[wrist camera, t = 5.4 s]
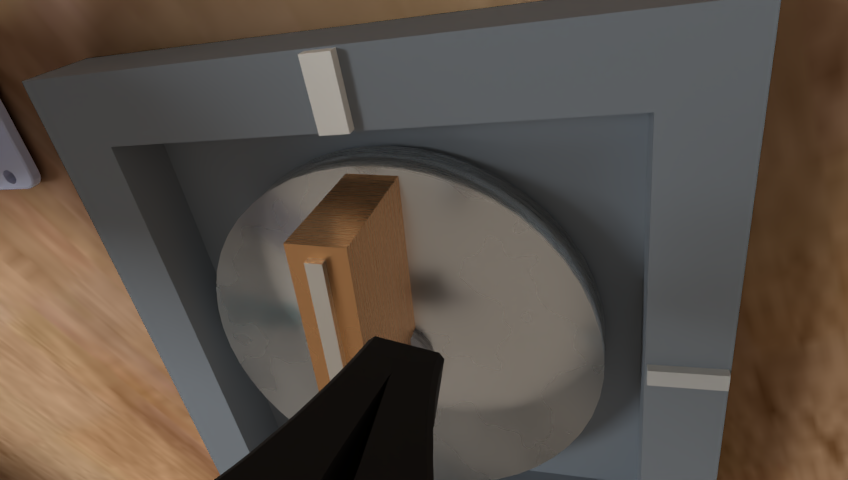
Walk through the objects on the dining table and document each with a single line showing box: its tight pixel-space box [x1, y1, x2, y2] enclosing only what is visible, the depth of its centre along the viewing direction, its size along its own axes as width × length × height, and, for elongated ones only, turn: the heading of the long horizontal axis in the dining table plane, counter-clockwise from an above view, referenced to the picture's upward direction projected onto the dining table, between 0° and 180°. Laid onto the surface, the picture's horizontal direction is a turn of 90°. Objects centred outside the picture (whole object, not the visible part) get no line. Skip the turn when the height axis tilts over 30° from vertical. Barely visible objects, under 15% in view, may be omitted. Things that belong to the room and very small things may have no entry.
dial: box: [216, 146, 605, 480], centre depth 17 cm, size 12×12×5 cm
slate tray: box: [22, 0, 781, 480], centre depth 18 cm, size 18×18×3 cm
